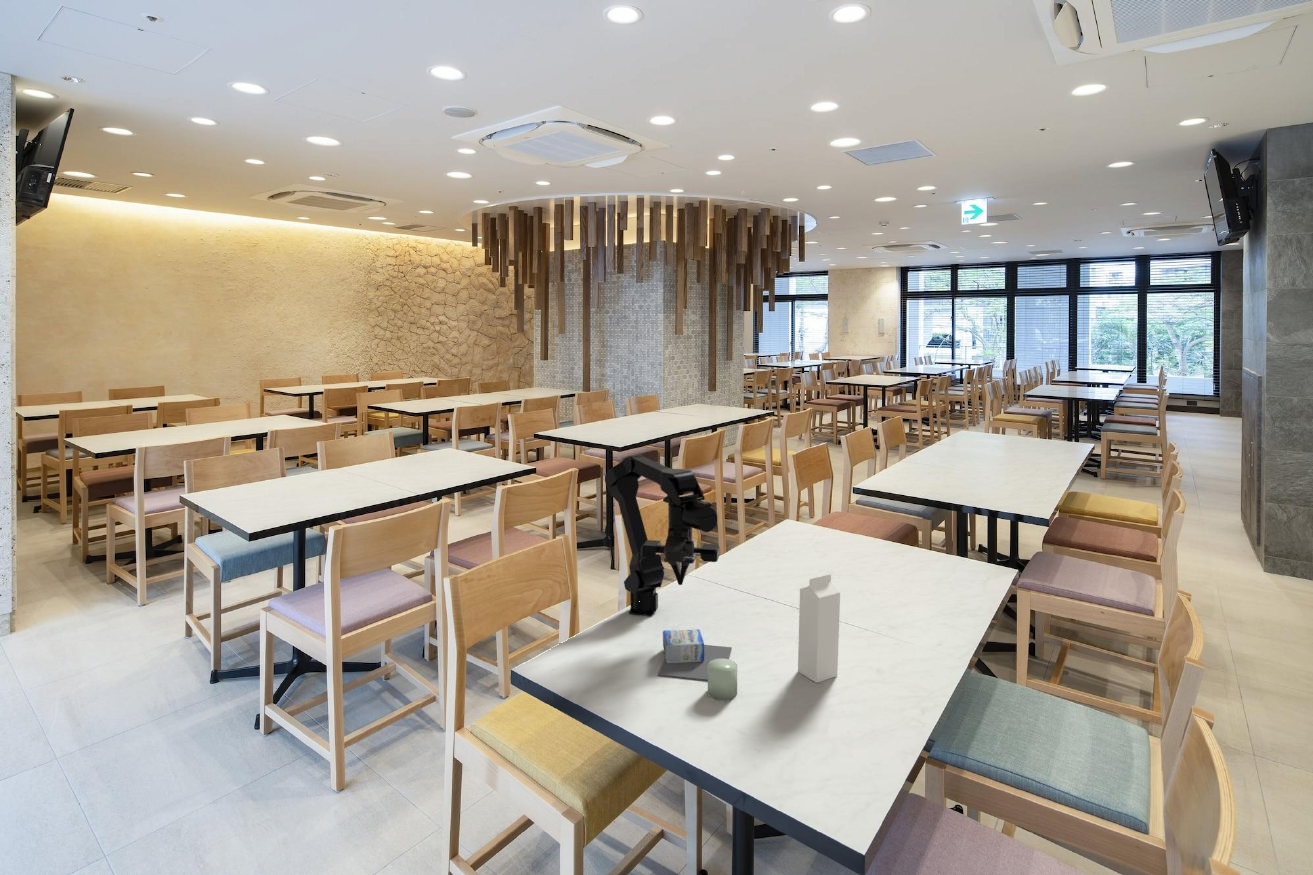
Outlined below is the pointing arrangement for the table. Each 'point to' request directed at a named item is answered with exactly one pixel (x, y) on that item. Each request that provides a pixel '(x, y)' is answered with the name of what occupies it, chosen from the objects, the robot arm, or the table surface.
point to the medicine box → (683, 646)
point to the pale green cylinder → (722, 679)
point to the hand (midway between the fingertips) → (680, 584)
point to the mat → (695, 664)
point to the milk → (819, 629)
